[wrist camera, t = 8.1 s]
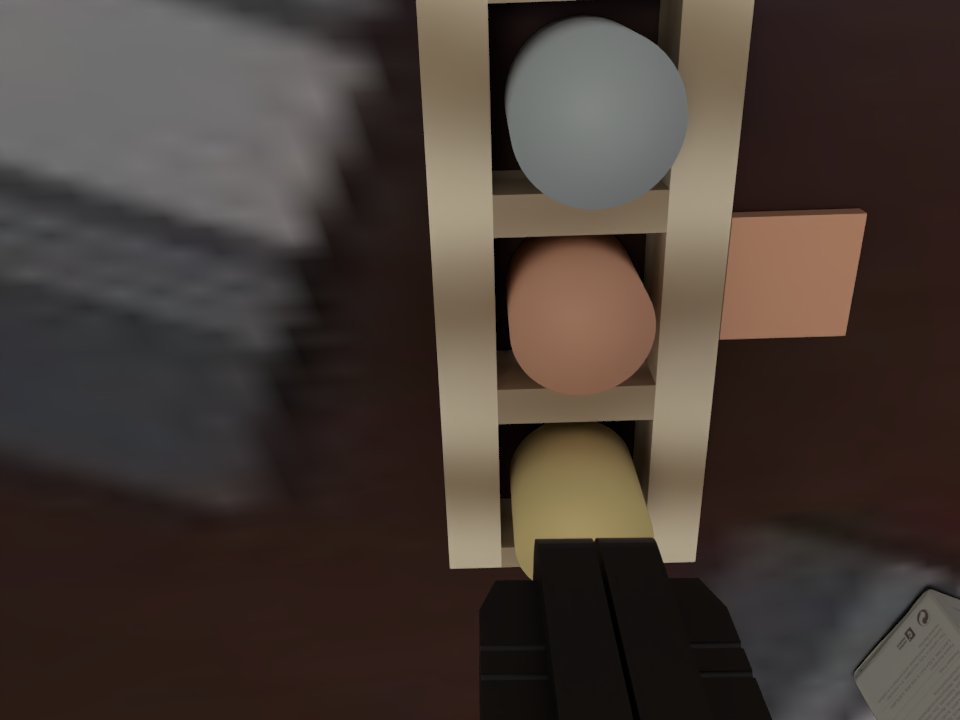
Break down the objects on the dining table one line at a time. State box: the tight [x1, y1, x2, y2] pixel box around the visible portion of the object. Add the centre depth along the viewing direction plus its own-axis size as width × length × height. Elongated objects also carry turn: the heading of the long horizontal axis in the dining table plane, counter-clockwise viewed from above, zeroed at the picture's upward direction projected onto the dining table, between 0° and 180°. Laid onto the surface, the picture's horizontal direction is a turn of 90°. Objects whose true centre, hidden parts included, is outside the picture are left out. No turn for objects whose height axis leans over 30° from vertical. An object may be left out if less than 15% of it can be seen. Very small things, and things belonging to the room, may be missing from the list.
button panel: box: [416, 0, 754, 569], centre depth 28 cm, size 20×9×3 cm, turn 2°
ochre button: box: [510, 421, 654, 580], centre depth 28 cm, size 4×4×4 cm
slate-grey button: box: [504, 15, 688, 210], centre depth 22 cm, size 4×4×4 cm
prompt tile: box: [719, 208, 867, 340], centre depth 29 cm, size 4×4×1 cm
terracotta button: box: [505, 234, 656, 395], centre depth 27 cm, size 4×4×4 cm
